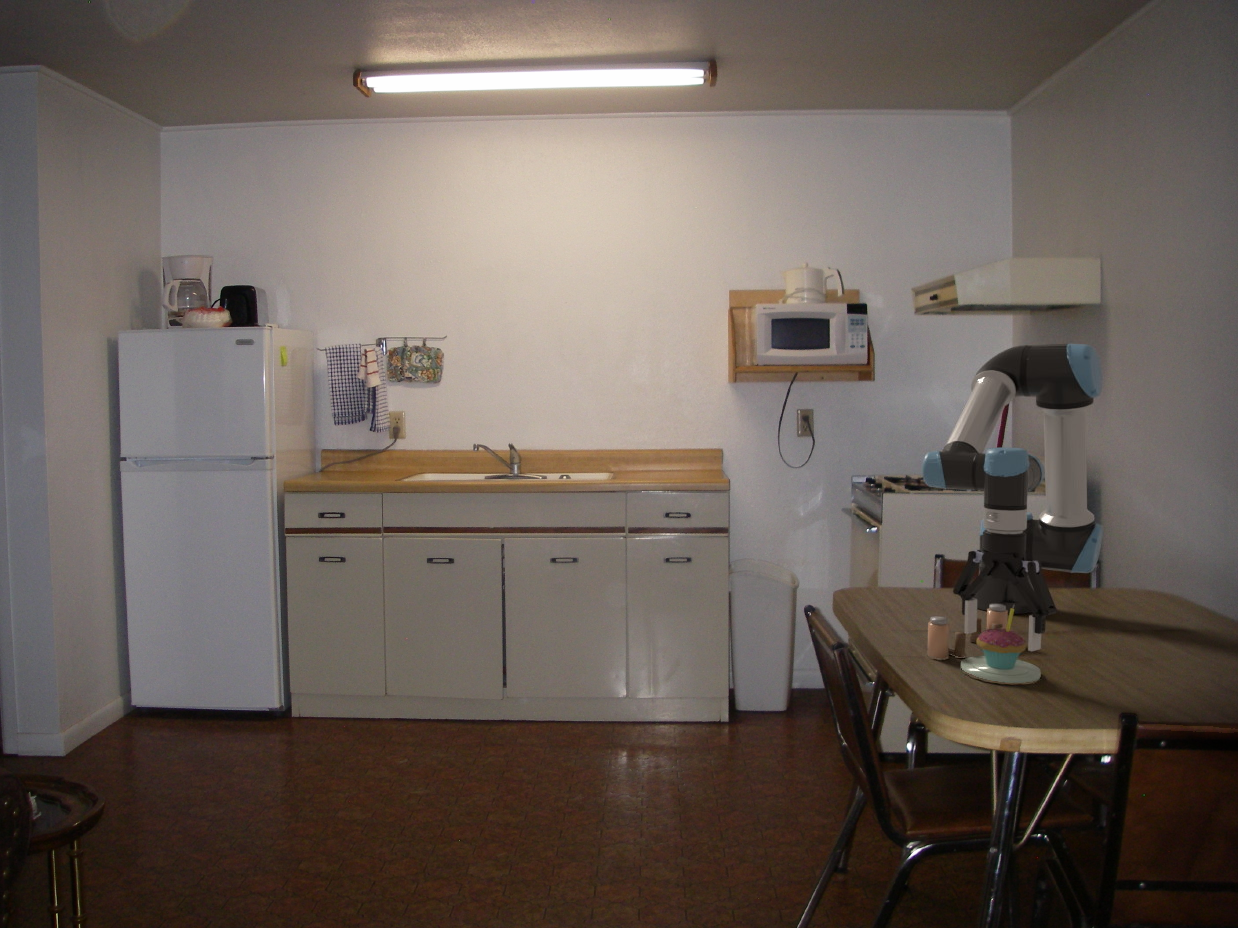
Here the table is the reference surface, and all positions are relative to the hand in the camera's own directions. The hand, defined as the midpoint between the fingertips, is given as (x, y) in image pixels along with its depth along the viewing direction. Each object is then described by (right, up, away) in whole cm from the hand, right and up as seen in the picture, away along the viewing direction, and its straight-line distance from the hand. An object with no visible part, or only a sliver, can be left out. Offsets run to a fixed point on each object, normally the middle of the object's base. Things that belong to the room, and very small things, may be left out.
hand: (1001, 640), depth 171 cm
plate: (0, -6, 0) cm, 6 cm away
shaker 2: (+8, -4, +21) cm, 22 cm away
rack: (0, -5, +16) cm, 16 cm away
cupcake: (0, -5, 0) cm, 5 cm away
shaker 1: (-8, -5, +10) cm, 14 cm away
